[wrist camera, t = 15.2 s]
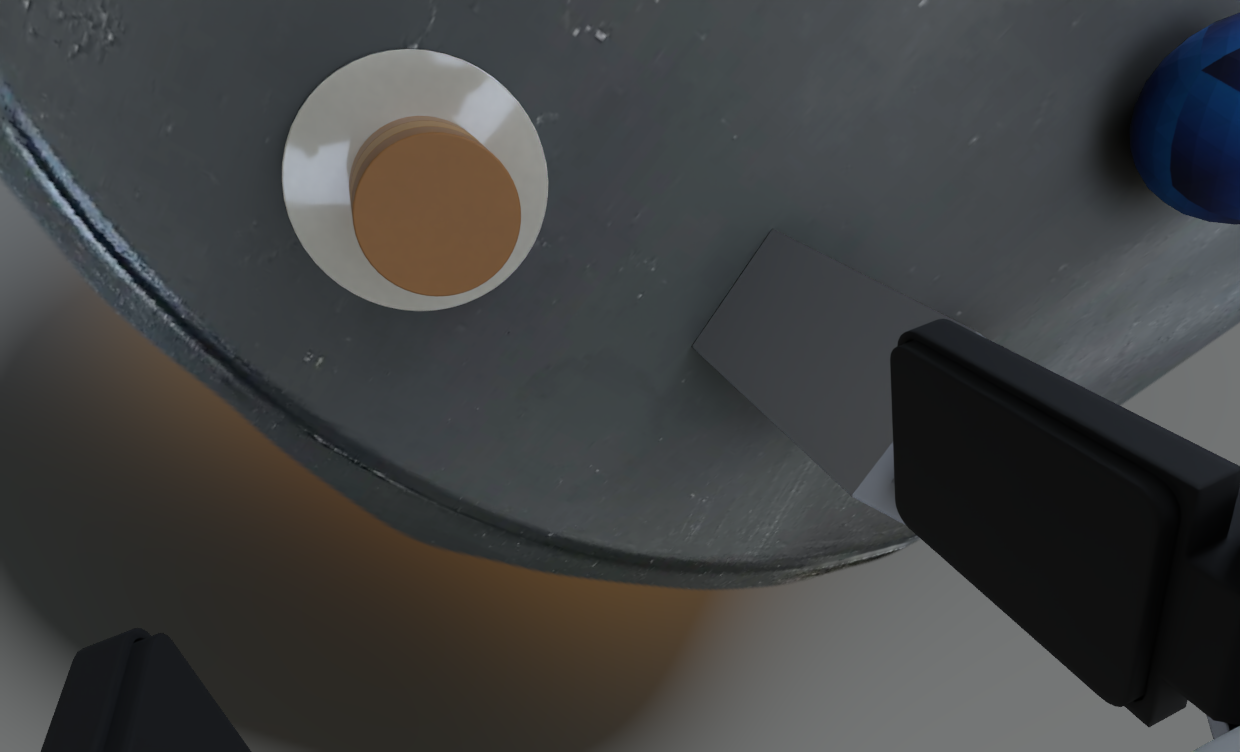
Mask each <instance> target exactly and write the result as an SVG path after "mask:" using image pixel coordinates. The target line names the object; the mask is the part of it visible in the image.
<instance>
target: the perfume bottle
mask: <svg viewBox="0 0 1240 752" xmlns="http://www.w3.org/2000/svg"><path fill="white" fill-rule="evenodd" d="M938 319H947V320H951V321H953V322H955V323H957V324H959V325H961V326H963V327H965V328H966V329H968V330H970V331H972V332H974V333H976V334H978V335H980V336H982V335H981V334H980V333H979V332H977V331H975V330H973V329H971V328H969V327H967V326H966V325H964V324H962V323H960V322H958V321H956V320H954V319H952V318H950V317H948V316H946V315H944V314H942V313H940V312H938V311H936V310H934V309H932V308H930V307H928V306H926V305H924V304H922V303H920V302H918V301H916V300H914V299H912V298H910V297H908V296H906V295H904V294H902V293H900V292H898V291H896V290H894V289H892V288H890V287H888V286H886V285H884V284H882V283H880V282H878V281H876V280H874V279H872V278H870V277H868V276H866V275H864V274H862V273H860V272H858V271H856V270H854V269H852V268H850V267H848V266H846V265H844V264H842V263H840V262H838V261H836V260H834V259H832V258H830V257H828V256H826V255H824V254H822V253H820V252H818V251H816V250H814V249H812V248H810V247H808V246H806V245H804V244H802V243H800V242H798V241H796V240H794V239H792V238H790V237H788V236H786V235H784V234H782V233H780V232H778V231H776V230H774V229H772V230H771V232H770V233H769V235H768V236H767V238H766V239H765V240H764V242H763V243H762V245H761V246H760V248H759V249H758V251H757V252H756V254H755V255H754V257H753V258H752V259H751V261H750V262H749V264H748V265H747V267H746V268H745V270H744V271H743V273H742V274H741V276H740V277H739V278H738V280H737V281H736V283H735V284H734V286H733V287H732V289H731V290H730V292H729V293H728V295H727V296H726V297H725V299H724V300H723V302H722V303H721V305H720V306H719V308H718V309H717V311H716V312H715V313H714V315H713V316H712V318H711V319H710V321H709V322H708V324H707V325H706V327H705V328H704V330H703V331H702V332H701V334H700V335H699V337H698V338H697V340H696V341H695V343H694V344H693V346H692V347H693V348H694V349H695V350H696V351H697V352H698V353H699V354H700V355H701V356H702V357H703V358H704V359H705V360H707V361H708V362H709V363H710V364H711V365H712V366H713V367H714V368H715V369H716V370H717V371H718V372H719V373H720V374H721V375H723V376H724V377H725V378H726V379H727V380H728V381H729V382H730V383H731V384H732V385H733V386H734V387H735V388H736V389H737V390H739V391H740V392H741V393H742V394H743V395H744V396H745V397H746V398H747V399H748V400H749V401H750V402H751V403H752V404H753V405H755V406H756V407H757V408H758V409H759V410H760V411H761V412H762V413H763V414H764V415H765V416H766V417H767V418H768V419H770V420H771V421H772V422H773V423H774V424H775V425H776V426H777V427H778V428H779V429H780V430H781V431H782V432H783V433H784V434H786V435H787V436H788V437H789V438H790V439H791V440H792V441H793V442H794V443H795V444H796V445H797V446H798V447H799V448H800V449H802V450H803V451H804V452H805V453H806V454H807V455H808V456H809V457H810V458H811V459H812V460H813V461H814V462H815V463H816V464H818V465H819V466H820V467H821V468H822V469H823V470H824V471H825V472H826V473H827V474H828V475H829V476H830V477H831V478H832V479H834V480H835V481H836V482H837V483H838V484H839V485H840V486H841V487H842V488H843V489H844V490H845V491H846V492H847V493H849V494H850V495H851V496H852V497H854V498H856V499H858V500H860V501H861V502H863V503H865V504H867V505H869V506H871V507H873V508H875V509H876V510H878V511H880V512H882V513H884V514H886V515H888V516H890V517H892V518H893V519H895V520H897V521H899V522H901V523H903V524H905V523H904V522H903V520H902V519H901V517H900V515H899V513H898V511H897V508H896V503H895V483H894V454H893V426H892V398H891V369H890V356H891V352H892V350H893V349H894V348H895V347H897V345H898V340H899V338H900V336H901V335H902V334H903V333H904V332H906V331H909V330H912V329H914V328H917V327H919V326H922V325H925V324H927V323H930V322H932V321H935V320H938ZM982 337H984V336H982ZM984 338H985V337H984ZM905 525H906V524H905Z"/></svg>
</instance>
